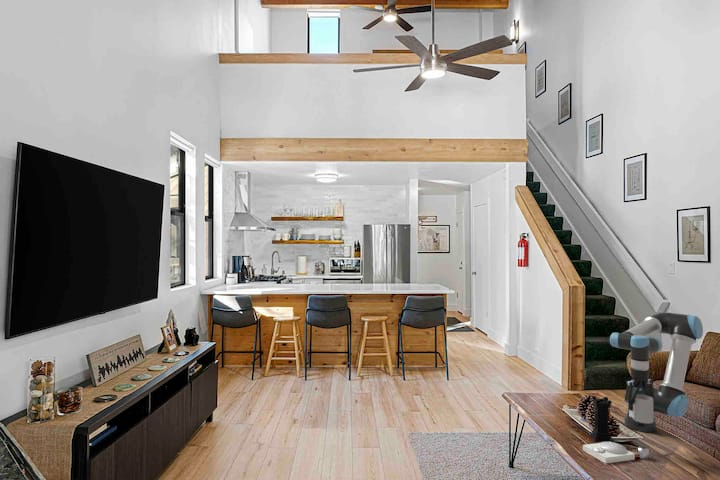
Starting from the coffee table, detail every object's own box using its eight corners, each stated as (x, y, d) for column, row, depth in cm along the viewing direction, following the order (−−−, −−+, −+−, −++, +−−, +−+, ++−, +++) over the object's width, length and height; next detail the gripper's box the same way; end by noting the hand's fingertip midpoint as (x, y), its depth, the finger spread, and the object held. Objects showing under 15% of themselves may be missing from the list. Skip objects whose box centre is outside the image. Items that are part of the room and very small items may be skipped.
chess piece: (612, 442, 233) (612, 401, 233) (594, 441, 234) (595, 400, 235) (607, 436, 240) (607, 396, 241) (590, 435, 242) (590, 395, 242)
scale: (610, 446, 228) (610, 439, 228) (634, 459, 214) (634, 451, 214) (582, 450, 224) (582, 442, 224) (605, 463, 210) (605, 455, 210)
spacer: (643, 454, 220) (643, 446, 220) (651, 458, 216) (651, 450, 216) (635, 455, 219) (635, 447, 219) (643, 459, 214) (643, 451, 214)
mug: (657, 421, 223) (657, 398, 223) (645, 424, 219) (645, 401, 220) (633, 413, 234) (633, 391, 234) (621, 416, 230) (621, 393, 230)
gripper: (650, 365, 233) (650, 411, 233) (615, 368, 228) (615, 415, 227) (664, 368, 226) (664, 416, 226) (628, 372, 220) (628, 421, 220)
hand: (639, 415), depth 227 cm, fingers closed on mug, 8 cm apart
